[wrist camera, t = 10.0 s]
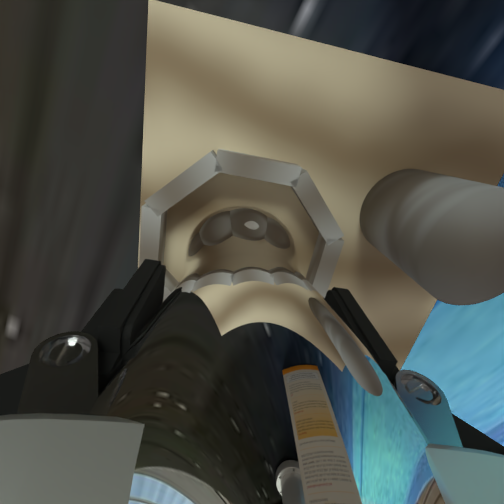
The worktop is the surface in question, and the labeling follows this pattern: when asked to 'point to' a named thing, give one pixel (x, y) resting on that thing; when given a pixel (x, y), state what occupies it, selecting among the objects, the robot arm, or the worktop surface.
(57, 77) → the worktop surface
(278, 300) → the beer glass
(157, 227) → the carrier board
